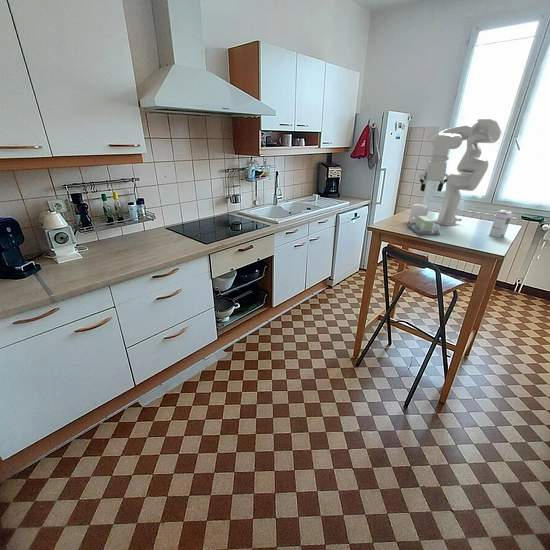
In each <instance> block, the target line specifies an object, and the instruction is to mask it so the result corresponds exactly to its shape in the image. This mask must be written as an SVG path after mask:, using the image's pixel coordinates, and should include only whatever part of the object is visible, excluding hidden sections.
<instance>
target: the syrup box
mask: <svg viewBox="0 0 550 550" xmlns="http://www.w3.org/2000/svg"><path fill="white" fill-rule="evenodd" d="M512 215H513V211H510V210H504V209H501V210H497V211H496V214H495V216H494V219H493V222H492V224H491V225H492V226H491V228H490V232H489V236H492V237H496V238H503V237H504V236H505V235H506V232H507V229H508V226H509V224H510V222H511V221H510V220H511V219H512Z"/></svg>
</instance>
